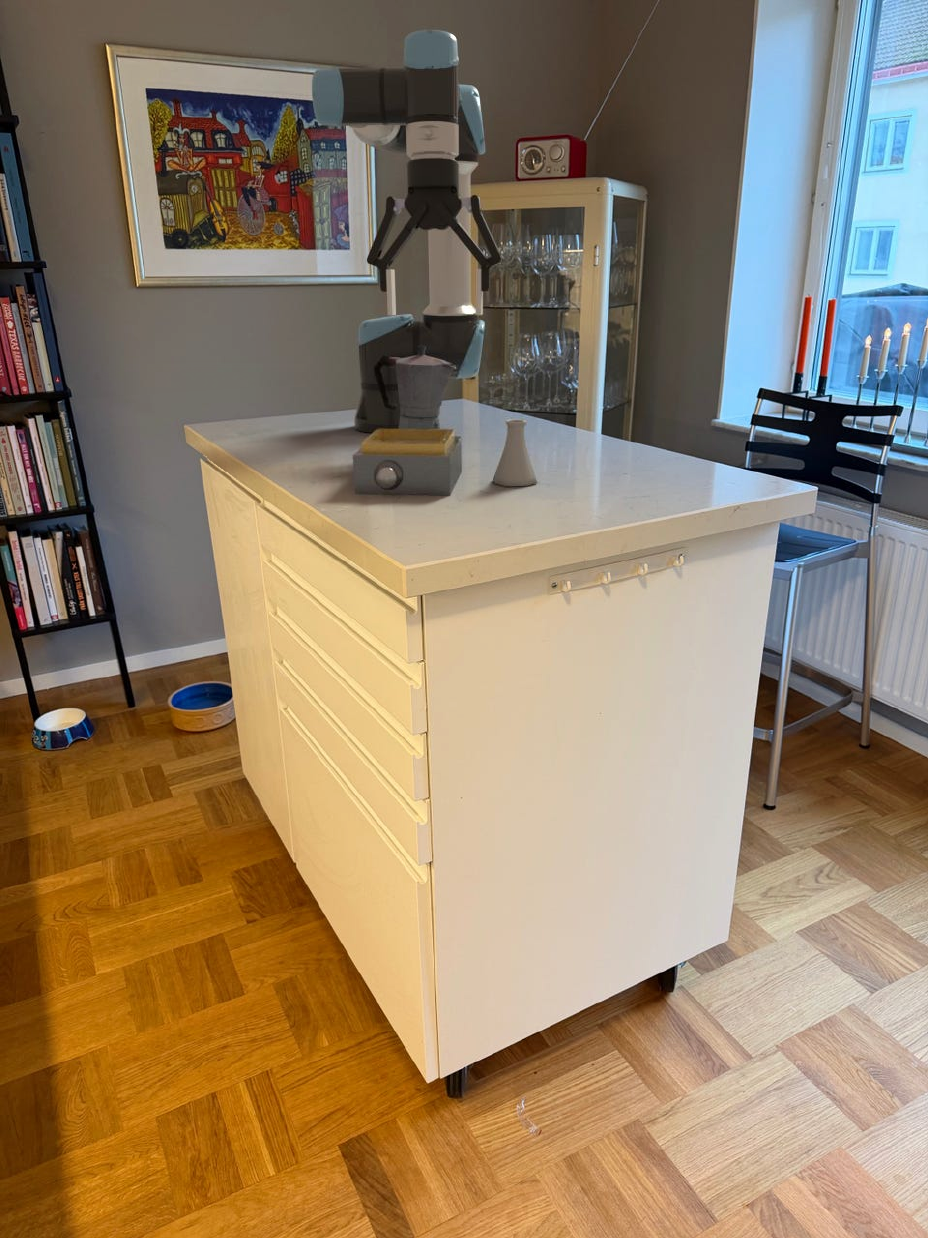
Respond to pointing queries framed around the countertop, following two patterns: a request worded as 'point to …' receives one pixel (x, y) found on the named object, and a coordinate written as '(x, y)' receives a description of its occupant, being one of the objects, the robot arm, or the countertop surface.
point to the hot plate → (408, 462)
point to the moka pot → (417, 388)
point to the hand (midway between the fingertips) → (435, 315)
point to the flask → (515, 458)
